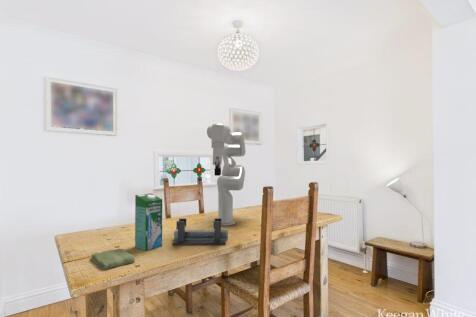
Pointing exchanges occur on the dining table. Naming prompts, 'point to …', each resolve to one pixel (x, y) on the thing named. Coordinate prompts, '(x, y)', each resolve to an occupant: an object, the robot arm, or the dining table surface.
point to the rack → (181, 240)
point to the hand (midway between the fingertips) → (217, 175)
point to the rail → (201, 234)
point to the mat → (204, 239)
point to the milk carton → (148, 221)
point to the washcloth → (112, 258)
